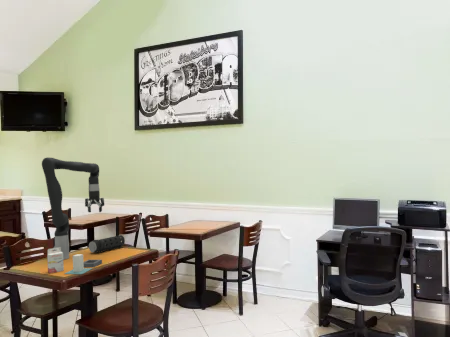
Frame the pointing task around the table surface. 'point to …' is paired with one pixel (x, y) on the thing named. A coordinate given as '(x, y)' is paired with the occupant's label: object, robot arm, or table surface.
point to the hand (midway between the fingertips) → (95, 212)
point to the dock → (92, 263)
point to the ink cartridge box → (55, 260)
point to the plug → (78, 263)
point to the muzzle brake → (106, 244)
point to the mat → (79, 272)
